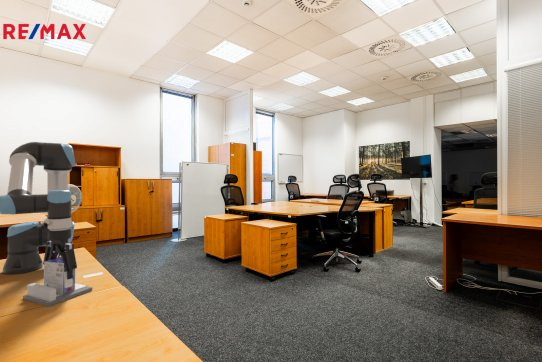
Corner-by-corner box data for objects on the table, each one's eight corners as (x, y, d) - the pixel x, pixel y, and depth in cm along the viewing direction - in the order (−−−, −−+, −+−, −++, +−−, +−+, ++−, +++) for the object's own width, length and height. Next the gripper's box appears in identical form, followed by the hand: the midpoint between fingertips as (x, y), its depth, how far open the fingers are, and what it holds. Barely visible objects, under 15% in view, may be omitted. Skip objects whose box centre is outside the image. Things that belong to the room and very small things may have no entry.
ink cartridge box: (76, 289, 112) (76, 253, 112) (63, 294, 107) (63, 256, 107) (56, 287, 114) (56, 251, 114) (42, 292, 109) (42, 255, 109)
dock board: (22, 298, 106) (22, 285, 106) (67, 284, 121) (67, 272, 121) (48, 306, 100) (48, 292, 100) (92, 290, 114) (92, 277, 114)
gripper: (31, 228, 111) (31, 283, 111) (67, 232, 102) (67, 293, 103) (52, 225, 118) (52, 277, 118) (88, 229, 109) (88, 285, 109)
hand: (59, 284), depth 110 cm, fingers closed on ink cartridge box, 10 cm apart
